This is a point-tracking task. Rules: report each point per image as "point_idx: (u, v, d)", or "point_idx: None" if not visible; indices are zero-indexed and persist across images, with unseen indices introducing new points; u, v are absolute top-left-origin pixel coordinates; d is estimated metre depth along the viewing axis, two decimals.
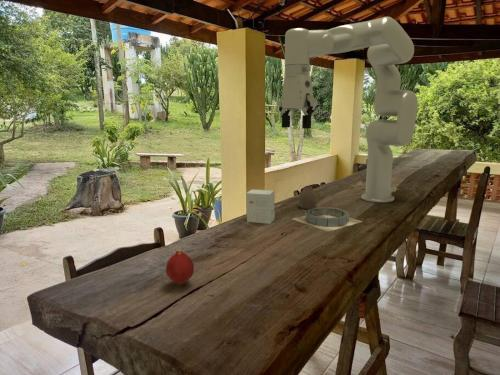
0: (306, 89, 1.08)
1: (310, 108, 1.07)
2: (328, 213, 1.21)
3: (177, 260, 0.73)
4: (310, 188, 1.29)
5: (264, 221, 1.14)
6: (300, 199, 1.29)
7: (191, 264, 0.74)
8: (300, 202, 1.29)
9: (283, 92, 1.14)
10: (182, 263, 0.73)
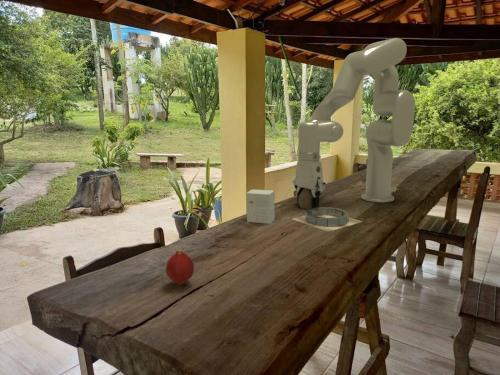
0: (317, 174, 1.24)
1: (318, 192, 1.24)
2: (328, 213, 1.21)
3: (177, 260, 0.73)
4: None
5: (264, 221, 1.14)
6: (300, 199, 1.29)
7: (191, 264, 0.74)
8: (300, 202, 1.29)
9: (296, 172, 1.30)
10: (182, 263, 0.73)
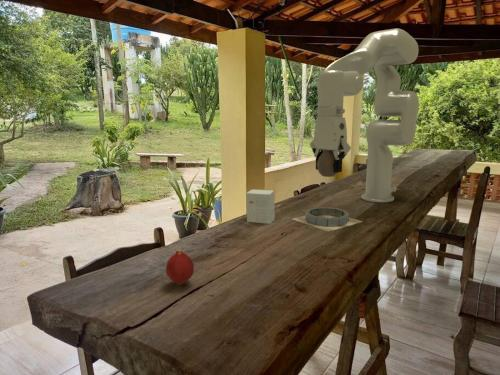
0: (341, 131, 1.06)
1: (342, 153, 1.06)
2: (328, 213, 1.21)
3: (177, 260, 0.73)
4: None
5: (264, 221, 1.14)
6: (319, 163, 1.10)
7: (191, 264, 0.74)
8: (319, 166, 1.11)
9: (315, 132, 1.12)
10: (182, 263, 0.73)
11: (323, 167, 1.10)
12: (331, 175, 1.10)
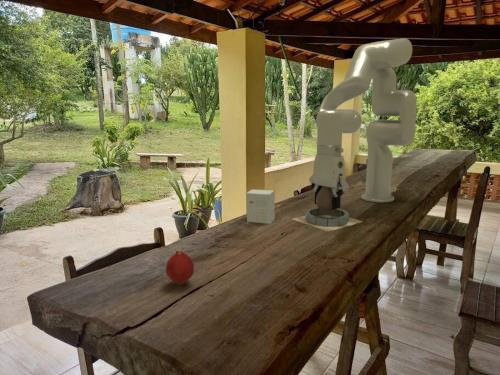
0: (339, 170, 1.08)
1: (340, 191, 1.08)
2: (328, 213, 1.21)
3: (177, 260, 0.73)
4: None
5: (264, 221, 1.14)
6: (318, 199, 1.13)
7: (191, 264, 0.74)
8: (318, 202, 1.13)
9: (314, 169, 1.14)
10: (182, 263, 0.73)
11: (322, 203, 1.12)
12: (330, 211, 1.13)
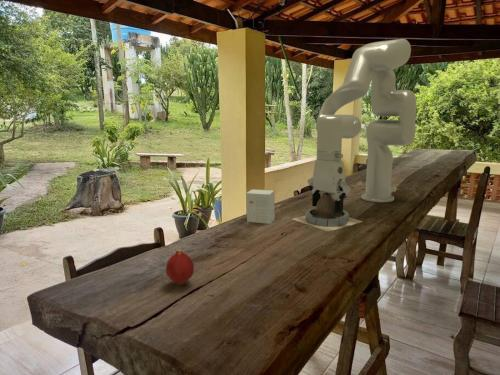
0: (339, 175, 1.08)
1: (343, 195, 1.08)
2: None
3: (177, 260, 0.73)
4: (329, 196, 1.13)
5: (264, 221, 1.14)
6: (318, 208, 1.14)
7: (191, 264, 0.74)
8: (318, 211, 1.14)
9: (314, 174, 1.15)
10: (182, 263, 0.73)
11: (321, 213, 1.13)
12: None
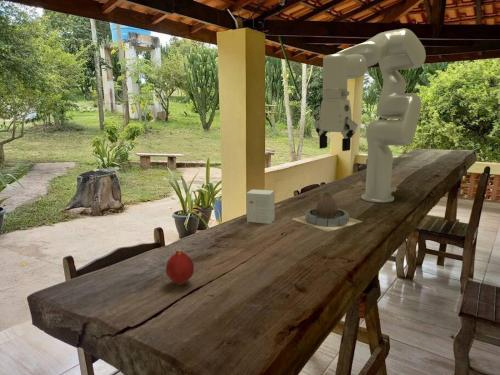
0: (346, 113, 1.10)
1: (350, 132, 1.10)
2: None
3: (177, 260, 0.73)
4: (329, 196, 1.13)
5: (264, 221, 1.14)
6: (318, 208, 1.14)
7: (191, 264, 0.74)
8: (318, 211, 1.14)
9: (321, 115, 1.16)
10: (182, 263, 0.73)
11: (321, 213, 1.13)
12: None
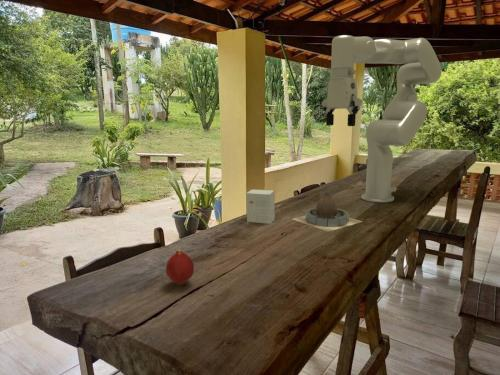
0: (352, 90, 1.19)
1: (356, 108, 1.18)
2: None
3: (177, 260, 0.73)
4: (329, 196, 1.13)
5: (264, 221, 1.14)
6: (318, 208, 1.14)
7: (191, 264, 0.74)
8: (318, 211, 1.14)
9: (328, 93, 1.25)
10: (182, 263, 0.73)
11: (321, 213, 1.13)
12: None
